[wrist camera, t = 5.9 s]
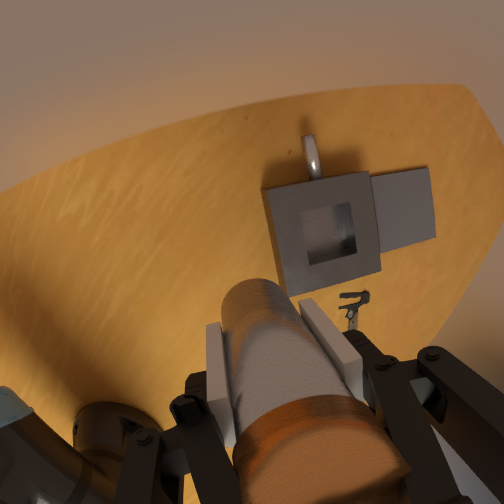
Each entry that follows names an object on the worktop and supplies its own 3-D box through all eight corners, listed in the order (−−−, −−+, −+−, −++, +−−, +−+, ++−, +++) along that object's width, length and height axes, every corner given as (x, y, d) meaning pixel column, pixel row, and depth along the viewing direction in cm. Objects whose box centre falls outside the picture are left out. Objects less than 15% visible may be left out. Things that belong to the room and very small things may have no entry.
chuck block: (279, 286, 39) (288, 297, 36) (251, 147, 36) (257, 143, 32) (366, 263, 41) (381, 270, 37) (345, 132, 37) (360, 128, 33)
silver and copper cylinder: (228, 351, 21) (263, 565, 6) (209, 285, 20) (218, 505, 5) (297, 333, 21) (406, 518, 7) (284, 266, 20) (429, 436, 5)
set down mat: (378, 252, 41) (380, 253, 40) (368, 177, 38) (370, 177, 38) (433, 236, 42) (435, 237, 41) (426, 168, 39) (428, 167, 39)
